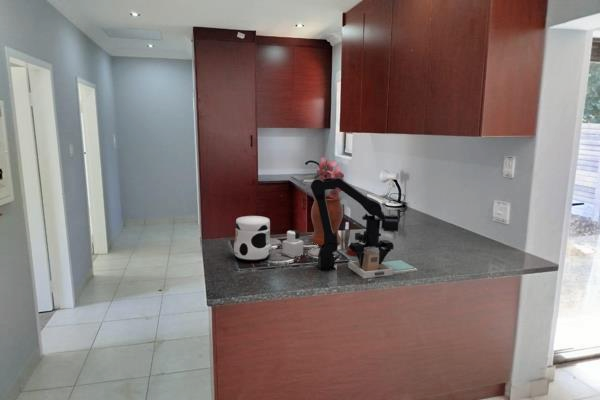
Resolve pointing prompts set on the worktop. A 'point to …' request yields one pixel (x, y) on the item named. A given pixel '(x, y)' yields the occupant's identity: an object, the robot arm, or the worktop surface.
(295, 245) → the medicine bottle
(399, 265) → the lid
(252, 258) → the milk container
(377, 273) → the pale grey square frame
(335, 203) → the potted flower
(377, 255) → the block
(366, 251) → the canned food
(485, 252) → the worktop surface
